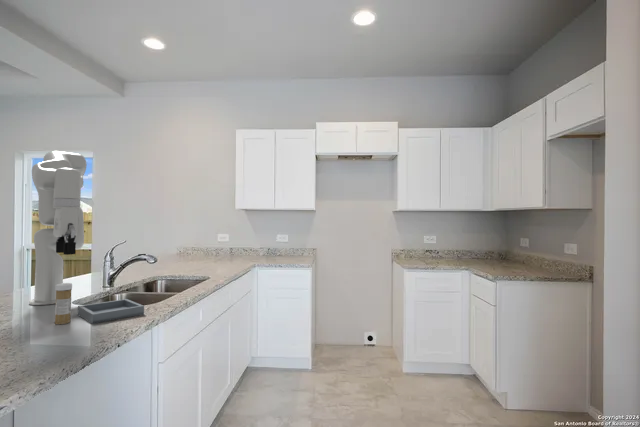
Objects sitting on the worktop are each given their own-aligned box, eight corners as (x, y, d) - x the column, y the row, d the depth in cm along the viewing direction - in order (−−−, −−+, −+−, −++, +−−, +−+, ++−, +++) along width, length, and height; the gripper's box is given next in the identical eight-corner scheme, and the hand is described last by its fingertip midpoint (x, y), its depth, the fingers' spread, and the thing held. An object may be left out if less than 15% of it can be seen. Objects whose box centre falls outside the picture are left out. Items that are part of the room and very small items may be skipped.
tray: (77, 314, 129) (77, 306, 129) (126, 306, 142) (126, 298, 142) (92, 323, 118) (92, 314, 118) (143, 314, 131) (144, 305, 131)
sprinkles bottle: (60, 321, 121) (61, 282, 121) (73, 320, 121) (75, 282, 121) (51, 325, 116) (52, 285, 116) (65, 324, 116) (66, 285, 117)
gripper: (47, 204, 122) (45, 252, 122) (60, 203, 111) (58, 256, 111) (72, 205, 128) (71, 251, 128) (87, 204, 117) (86, 254, 116)
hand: (65, 253), depth 119 cm, fingers open, 9 cm apart
